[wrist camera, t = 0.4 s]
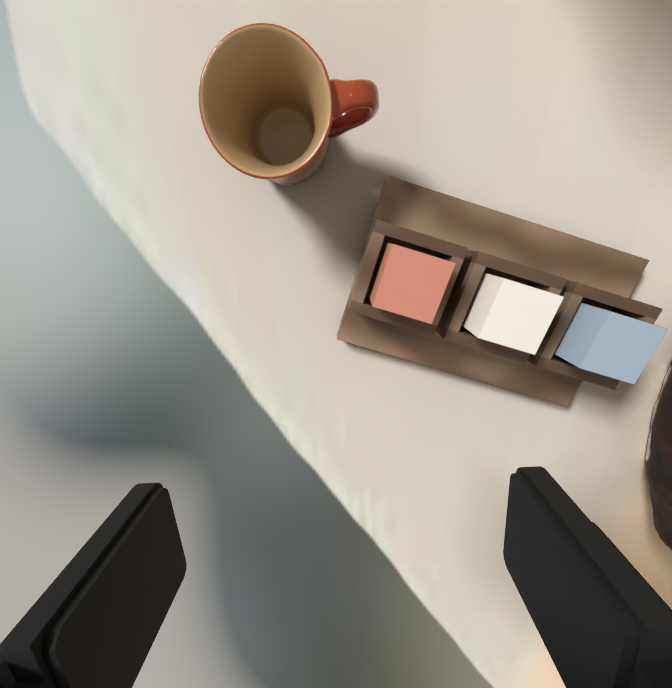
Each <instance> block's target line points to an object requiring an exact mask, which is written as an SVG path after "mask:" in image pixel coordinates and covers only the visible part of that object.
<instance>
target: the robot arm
mask: <svg viewBox="0 0 672 688" xmlns="http://www.w3.org/2000/svg"><path fill="white" fill-rule="evenodd" d="M503 554H504V560H505V564H506V567H507V569H508V571H509V573H510V575H511V577H512V579H513V581H514V583H515V585H516V587H517V589H518V591H519V593H520V595H521V597H522V599H523V601H524V603H525V605H526V607H527V609H528V611H529V613H530V615H531V617H532V619H533V621H534V623H535V626H536V628H537V630H538V632H539V634H540V636H541V638H542V640H543V642H544V644H545V646H546V648H547V650H548V652H549V654H550V656H551V658H552V660H553V662H554V664H555V666H556V668H557V670H558V672H559V674H560V676H561V678H562V680H563V682H564V684H565V686H566V688H672V610H671V608H670V607H669V606H668V605H667V604H666V603H665V602H664V601H663V599H662V598H661V597H660V596H659V595H658V594H657V593H656V591H655V590H654V589H653V588H652V587H651V586H650V585H649V584H648V582H647V581H646V580H645V579H644V578H643V577H642V576H641V574H640V573H639V572H638V571H637V570H636V569H635V568H634V567H633V565H632V564H631V563H630V562H629V561H628V560H627V559H626V557H625V556H624V555H623V554H622V553H621V552H620V551H619V550H618V548H617V547H616V546H615V545H614V544H613V543H612V542H611V540H610V539H609V538H608V537H607V536H606V535H605V534H604V533H603V531H602V530H601V529H600V528H599V527H598V526H597V525H596V524H595V523H593V522H591V521H590V520H589V519H588V517H587V516H586V515H585V514H584V513H583V512H582V511H581V509H580V508H579V507H578V506H577V505H576V504H575V503H574V501H573V500H572V499H571V498H570V497H569V496H568V495H567V493H566V492H565V491H564V490H563V489H562V488H561V487H560V485H559V484H558V483H557V482H556V481H555V480H554V479H553V477H552V476H551V475H550V474H549V473H548V472H547V470H546V469H544V468H543V467H520V468H518V469H517V471H516V473H513V474H511V476H510V485H509V496H508V507H507V517H506V528H505V539H504V550H503ZM185 572H186V559H185V556H184V551H183V547H182V543H181V539H180V535H179V531H178V527H177V523H176V519H175V516H174V511H173V507H172V503H171V499H170V495H169V492H168V490H167V489H166V488H163V486H162V485H161V484H160V483H143V484H137V485H135V486H134V487H133V488H132V489H131V491H130V492H129V493H128V494H127V495H126V497H125V498H124V499H123V500H122V501H121V502H120V504H119V505H118V506H117V507H116V508H115V510H114V511H113V512H112V513H111V514H110V515H109V517H108V518H107V519H106V520H105V521H104V523H103V524H102V525H101V526H100V527H99V528H98V530H97V531H96V532H95V533H94V534H93V535H92V537H91V538H90V539H89V540H88V541H87V542H86V544H85V545H84V546H83V547H82V548H81V550H80V551H79V552H78V553H77V554H76V556H75V557H74V558H73V559H72V560H71V562H70V563H69V564H68V565H67V566H66V567H65V568H64V570H63V571H62V572H61V573H60V574H59V576H58V577H57V578H56V579H55V580H54V581H53V583H52V584H51V585H50V586H49V587H48V589H47V590H46V591H45V592H44V593H43V594H42V596H41V597H40V598H39V599H38V600H37V601H36V603H35V604H34V605H33V606H32V607H31V608H30V610H29V611H28V612H27V613H26V614H25V616H24V617H23V618H22V619H21V620H20V621H19V623H18V624H17V625H16V626H15V627H14V629H13V630H12V631H11V632H10V633H9V634H8V636H7V637H6V638H5V639H4V640H3V642H2V643H1V644H0V688H132V686H133V684H134V682H135V680H136V678H137V676H138V673H139V671H140V669H141V667H142V665H143V663H144V661H145V659H146V656H147V654H148V652H149V650H150V648H151V646H152V644H153V642H154V640H155V638H156V636H157V633H158V631H159V629H160V627H161V625H162V623H163V621H164V619H165V616H166V614H167V612H168V610H169V608H170V606H171V604H172V602H173V600H174V597H175V595H176V593H177V591H178V589H179V587H180V585H181V582H182V581H183V578H184V576H185Z"/></svg>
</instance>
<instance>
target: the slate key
mask: <svg viewBox="0 0 672 688" xmlns="http://www.w3.org/2000/svg"><path fill="white" fill-rule="evenodd" d="M667 330H668V329H666V328H663V327H659V326H656V325H653V324H650V323H647V322H643V321H640V320H637V319H634V318H631V317H627V316H624V315H621V314H618V313H614V312H611V311H608V310H604V309H601V308H597V307H594V306H590V305H587V304H584V303H580V304H579V306H578V308H577V310H576V312H575V314H574V315H573V317H572V319H571V321H570V323H569V325H568V327H567V329H566V331H565V333H564V335H563V337H562V339H561V341H560V342H559V344H558V346H557V348H556V350H555V352H554V354H556V355H557V356H559V357H561V358H563V359H564V360H566V361H568V362H570V363H571V364H573V365H575V366H577V367H578V368H581V369H584V370H587V371H591V372H594V373H598V374H601V375H604V376H608V377H611V378H614V379H618V380H621V381H624V382H628V383H631V384H635V382H636V381H637V379H638V377H639V376H640V374H641V373H642V371H643V369H644V368H645V366H646V364H647V363H648V361H649V359H650V358H651V356H652V355H653V353H654V351H655V350H656V348H657V346H658V345H659V343H660V342H661V340H662V338H663V337H664V335H665V333H666V332H667Z"/></svg>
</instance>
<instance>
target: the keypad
mask: <svg viewBox="0 0 672 688" xmlns="http://www.w3.org/2000/svg"><path fill="white" fill-rule="evenodd" d="M387 243H392V244H396V245H399V246H402V247H405V248H408V249H412V250H415V251H418V252H421V253H425V254H428V255H431V256H434V257H437V258H441V259H444V260H447V261H450V262H453V263H456V264H455V266H454V269H453V271H452V274H451V276H450V279H449V281H448V284H447V287H446V289H445V292H444V294H443V297H442V299H441V302H440V304H439V307H438V310H437V312H436V315H435V317H434V320H433V322H432V324H430V323H426V322H423V321H419V320H416V319H413V318H409V317H406V316H403V315H399V314H396V313H393V312H389V311H386V310H382V309H379V308H376V307H373V306H372V304H371V301H370V298H369V297H370V294H371V291H372V288H373V285H374V282H375V279H376V276H377V273H378V270H379V266H380V263H381V260H382V257H383V254H384V251H385V248H386V245H387ZM648 262H649V260H647V259H644V258H641V257H638V256H634V255H631V254H628V253H625V252H622V251H619V250H616V249H613V248H610V247H607V246H604V245H600V244H597V243H594V242H591V241H588V240H585V239H582V238H579V237H576V236H573V235H569V234H566V233H563V232H560V231H557V230H554V229H551V228H548V227H545V226H542V225H539V224H535V223H532V222H529V221H526V220H523V219H520V218H517V217H514V216H511V215H508V214H505V213H501V212H498V211H495V210H492V209H489V208H486V207H483V206H480V205H477V204H474V203H470V202H467V201H464V200H461V199H458V198H455V197H452V196H449V195H446V194H443V193H440V192H436V191H433V190H430V189H427V188H424V187H421V186H418V185H415V184H412V183H409V182H406V181H402V180H399V179H396V178H393V177H390V176H387V177H386V178H385V181H384V184H383V187H382V191H381V194H380V197H379V200H378V204H377V207H376V210H375V213H374V217H373V220H372V223H371V226H370V230H369V233H368V236H367V239H366V243H365V246H364V249H363V252H362V256H361V259H360V262H359V265H358V269H357V272H356V275H355V278H354V282H353V285H352V288H351V291H350V295H349V298H348V301H347V304H346V308H345V311H344V314H343V317H342V321H341V324H340V327H339V330H338V334H337V339H338V340H341V341H345V342H348V343H351V344H355V345H358V346H362V347H365V348H369V349H372V350H376V351H379V352H383V353H386V354H389V355H393V356H396V357H400V358H403V359H407V360H410V361H414V362H417V363H421V364H424V365H427V366H431V367H434V368H438V369H441V370H445V371H448V372H452V373H455V374H459V375H462V376H465V377H469V378H472V379H476V380H479V381H483V382H486V383H490V384H493V385H497V386H500V387H503V388H507V389H510V390H514V391H517V392H521V393H524V394H528V395H531V396H535V397H538V398H541V399H545V400H548V401H552V402H555V403H559V404H562V405H566V406H568V405H569V403H570V401H571V399H572V398H573V396H574V394H575V392H576V391H577V389H578V387H579V385H580V383H581V382H582V380H584V381H587V382H591V383H594V384H597V385H601V386H604V387H608V388H611V389H614V390H615V388H616V386H617V385H618V383H619V381H620V380H618V379H614V378H611V377H608V376H604V375H601V374H598V373H594V372H591V371H587V370H584V369H581V368H578V367H577V366H575V365H573V364H571V363H570V362H568V361H566V360H564V359H563V358H561V357H559V356H557V355H556V354H554V352H555V350H556V348H557V346H558V344H559V342H560V341H561V339H562V337H563V335H564V333H565V331H566V329H567V327H568V325H569V323H570V321H571V319H572V317H573V315H574V314H575V312H576V310H577V308H578V306H579V304H580V303H584V304H587V305H590V306H594V307H597V308H601V309H604V310H608V311H611V312H614V313H618V314H621V315H624V316H627V317H631V318H634V319H637V320H640V321H643V322H647V323H650V324H654V323H655V321H656V319H657V318H658V316H659V314H660V313H661V311H662V309H661V308H658V307H655V306H652V305H648V304H645V303H642V302H639V301H636V300H632V299H629V296H630V294H631V292H632V290H633V289H634V287H635V285H636V283H637V281H638V280H639V278H640V276H641V274H642V273H643V271H644V269H645V267H646V265H647V264H648ZM484 273H487V274H490V275H494V276H498V277H501V278H505V279H508V280H511V281H515V282H518V283H521V284H524V285H528V286H531V287H534V288H537V289H540V290H544V291H547V292H550V293H553V294H556V295H560V296H563V297H564V298H563V300H562V302H561V304H560V306H559V308H558V310H557V312H556V314H555V316H554V318H553V320H552V322H551V324H550V326H549V328H548V330H547V332H546V334H545V336H544V338H543V340H542V342H541V344H540V346H539V348H538V350H537V352H536V354H535V355H534V354H530V353H527V352H524V351H520V350H517V349H514V348H510V347H507V346H503V345H500V344H497V343H493V342H490V341H487V340H483V339H480V338H478V337H476V336H475V335H474V334H472V333H471V332H470V331H469V330H467V329H466V328H465V327H463V326H462V325H463V323H464V320H465V318H466V316H467V313H468V311H469V308H470V306H471V304H472V301H473V299H474V297H475V294H476V292H477V289H478V287H479V285H480V282H481V280H482V277H483V275H484Z"/></svg>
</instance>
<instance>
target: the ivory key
mask: <svg viewBox="0 0 672 688" xmlns="http://www.w3.org/2000/svg"><path fill="white" fill-rule="evenodd" d="M563 298H564V297H563V296H560V295H556V294H553V293H550V292H547V291H544V290H540V289H537V288H534V287H531V286H528V285H524V284H521V283H518V282H515V281H511V280H508V279H505V278H501V277H498V276H494V275H490V274H487V273H484V275H483V277H482V280H481V282H480V285H479V287H478V289H477V292H476V294H475V297H474V299H473V301H472V304H471V306H470V308H469V311H468V313H467V316H466V318H465V320H464V323H463V325H462V326H463V327H465V328H466V329H467V330H469V331H470V332H471V333H472V334H474V335H475V336H476V337H478V338H480V339H483V340H487V341H490V342H493V343H497V344H500V345H503V346H507V347H510V348H514V349H517V350H520V351H524V352H527V353H530V354H534V355H535V354H536V352H537V350H538V348H539V346H540V344H541V342H542V340H543V338H544V336H545V334H546V332H547V330H548V328H549V326H550V324H551V322H552V320H553V318H554V316H555V314H556V312H557V310H558V308H559V306H560V304H561V302H562V300H563Z"/></svg>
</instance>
